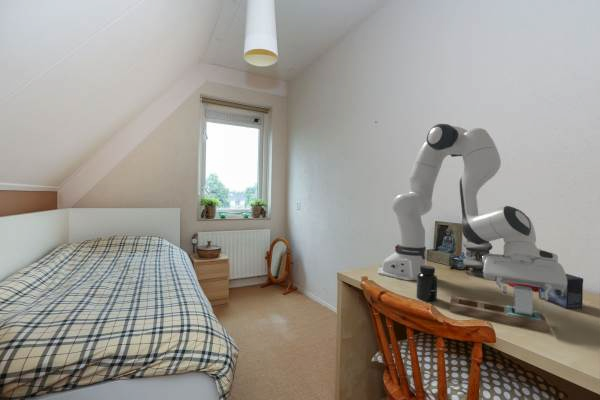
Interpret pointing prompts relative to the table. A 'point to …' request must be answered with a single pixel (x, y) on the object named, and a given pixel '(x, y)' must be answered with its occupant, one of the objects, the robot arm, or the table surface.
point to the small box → (567, 294)
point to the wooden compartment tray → (497, 313)
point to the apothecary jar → (475, 257)
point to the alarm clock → (525, 286)
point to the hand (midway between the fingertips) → (523, 295)
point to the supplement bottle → (427, 284)
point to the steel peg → (523, 300)
